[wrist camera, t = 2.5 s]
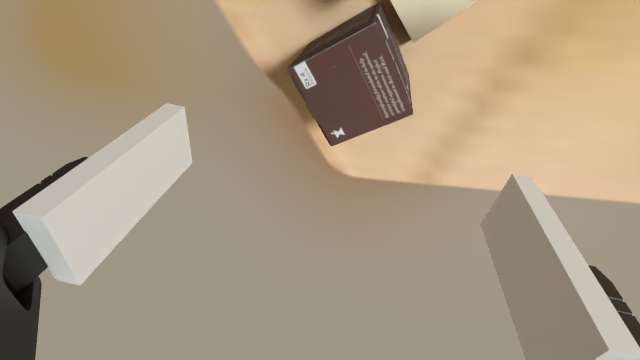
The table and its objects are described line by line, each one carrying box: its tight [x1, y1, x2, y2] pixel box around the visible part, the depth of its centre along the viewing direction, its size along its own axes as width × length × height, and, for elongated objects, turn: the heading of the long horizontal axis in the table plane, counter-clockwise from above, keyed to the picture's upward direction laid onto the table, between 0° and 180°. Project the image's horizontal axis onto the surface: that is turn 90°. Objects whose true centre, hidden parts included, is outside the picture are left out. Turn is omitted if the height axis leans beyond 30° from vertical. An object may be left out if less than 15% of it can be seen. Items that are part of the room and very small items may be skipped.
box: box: [287, 3, 413, 146], centre depth 22 cm, size 6×6×7 cm
